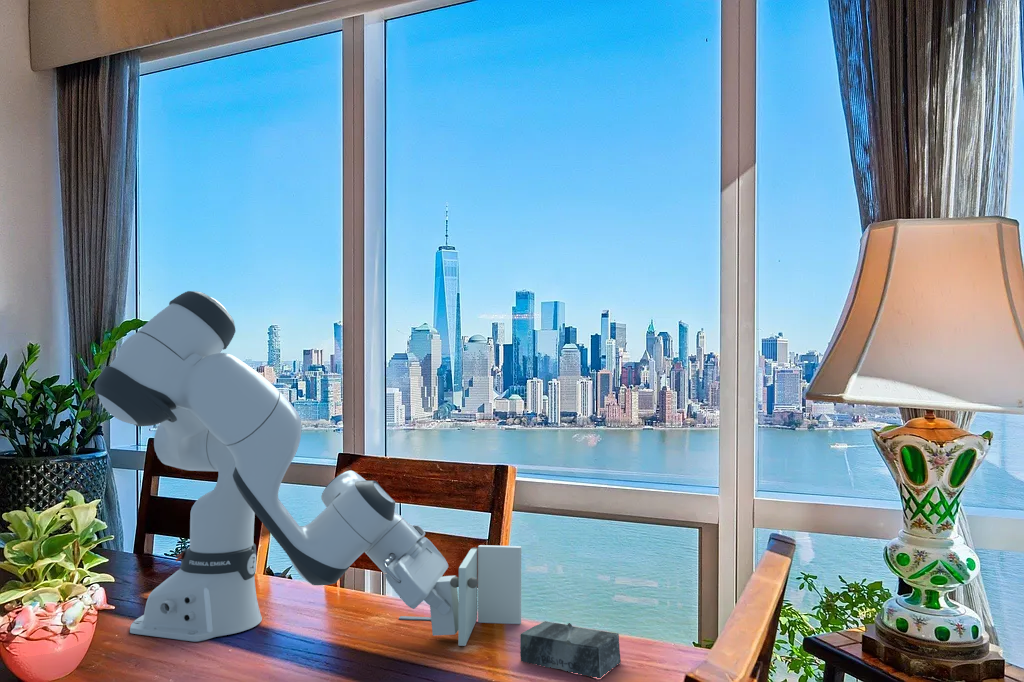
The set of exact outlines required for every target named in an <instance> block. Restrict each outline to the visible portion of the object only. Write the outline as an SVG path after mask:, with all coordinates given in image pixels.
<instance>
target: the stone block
mask: <svg viewBox="0 0 1024 682" xmlns="http://www.w3.org/2000/svg"><path fill="white" fill-rule="evenodd" d="M619 635H620V634H619V633H617V632H612V631H611V632H610V631H603V630H598V629H591V628H586V627H585V628H584V627H578V626H573V625H572V623H570V622H568V623H567V624H565V623H564V624H563V623H557V622H550V621H547V620H546V621H543V622H541V623H539V624H537V625H534V626H532V627H530V628H529V629H527V630H525V631H522V632H521V633H520V635H519V637H520V643H519V647H520V648H519V649H520V652H519V655H520V662H522V661H523V663H526V662H527V663H528V664H530V663H532V664H531V665H535V664H537V665H536V666H539V665H541V666H540V667H543V666H545V667H544V668H550V667H551V669H555V670H557V669H558V670H562V671H565V672H567V671H568V673H570V672H573V673H578V674H582V675H587V677H590V676H592V677H597V678H601V677H602V676H603V675H604V674H606V673H607V672H608V671H610V670H611V669H612V668H614V667H615V668H616V666H618V665H617V664H619V663H620V664H621V662H622V660H621V651H620V636H619ZM527 663H526V664H527ZM620 664H619V665H620ZM615 668H614V669H615ZM610 672H611V671H610ZM592 677H591V678H592Z"/></svg>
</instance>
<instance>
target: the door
mask: <svg viewBox="0 0 1024 682" xmlns="http://www.w3.org/2000/svg"><path fill="white" fill-rule="evenodd" d="M450 584H451V586H452V587H454V588H457V589H458V602H459V615H458V632H457V633H458V635H457V636H458V637H457V638H458V641H457V643H458V646H459V647H460V646H462V647H463V646H464V647H465V646H466V645H467V643H468V641H469V639H470V637H471V634H472V632H473V629H474V627H475V624H476V622H477V621H478V547H471V548H470V550H469V551H468V552H467V554H466V556H465V557H464V558H463V560H462V562H461V563H460V565H459V567H458V576H456V577H453V578H452V579H451V581H450Z"/></svg>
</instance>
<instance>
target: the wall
mask: <svg viewBox="0 0 1024 682" xmlns="http://www.w3.org/2000/svg"><path fill="white" fill-rule="evenodd" d="M477 548H478V574H477V581H478V585H477V623H481V624H482V623H483V624H484V623H485V624H505V625H506V624H510V625H511V624H512V625H521V624H522V546H521V545H491V544H490V545H489V544H488V545H487V544H486V545H485V544H480V545H478V546H477ZM398 620H404V621H408V620H409V621H429V622H431V616H407V615H400V616H399V617H398Z"/></svg>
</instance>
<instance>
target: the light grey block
mask: <svg viewBox="0 0 1024 682" xmlns="http://www.w3.org/2000/svg"><path fill="white" fill-rule="evenodd" d="M453 577H457V575H445V576H443V575H442V576H441V577H440V578H439V580H438V581H437V583H436V585H435V586H434V588H433V589H434V590H435V591H436V592H437V595H439V596H440V597H441V598H442V599H443V600H445V599H446V600H447V601H448V603H449V604H450V605H451V609H450V610H449V612H447V613H446V614H445V615H442V614H441V613H440V612H439V611H438V610H437V609H435V608H434V607H432V606H430V605H429V611H430V617H431V621H430V622H431V631H432V633H431V634H432V636H452V635H454V636H455V635H457V633H458V615H459V591H458V587H457V588H454V587H452V586H451V584H450V581H451V579H452V578H453Z"/></svg>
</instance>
